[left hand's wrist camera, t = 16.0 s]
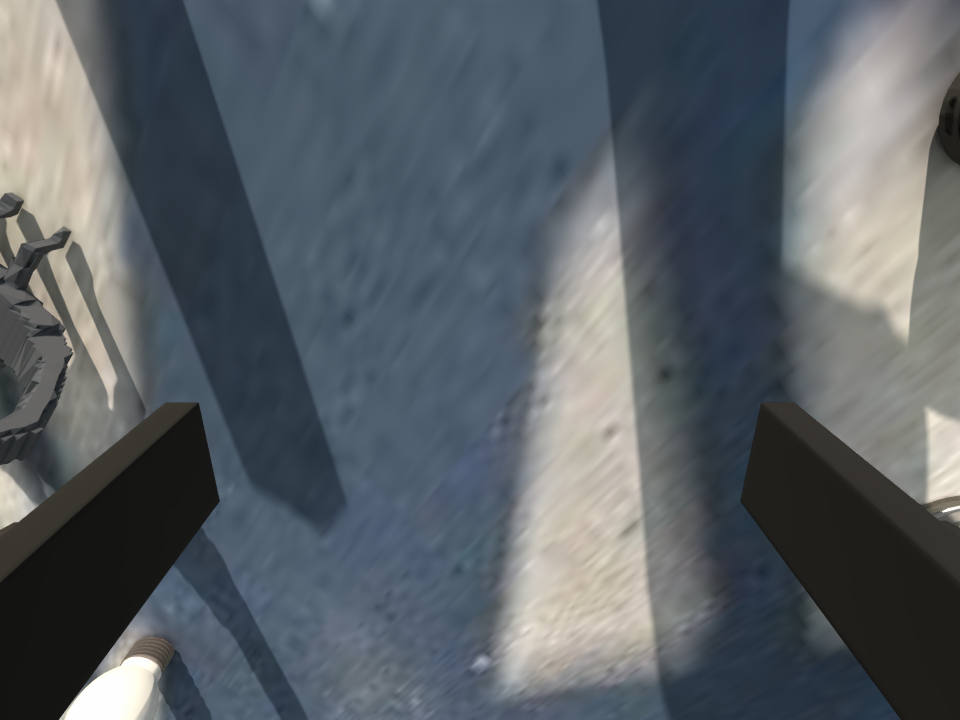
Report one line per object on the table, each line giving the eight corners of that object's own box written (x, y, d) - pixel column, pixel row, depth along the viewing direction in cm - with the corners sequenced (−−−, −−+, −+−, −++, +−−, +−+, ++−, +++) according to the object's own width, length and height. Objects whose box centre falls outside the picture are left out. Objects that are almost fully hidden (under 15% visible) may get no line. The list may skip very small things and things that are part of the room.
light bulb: (162, 617, 52) (85, 731, 42) (201, 663, 55) (137, 782, 44) (105, 637, 53) (16, 753, 43) (146, 682, 56) (70, 802, 45)
